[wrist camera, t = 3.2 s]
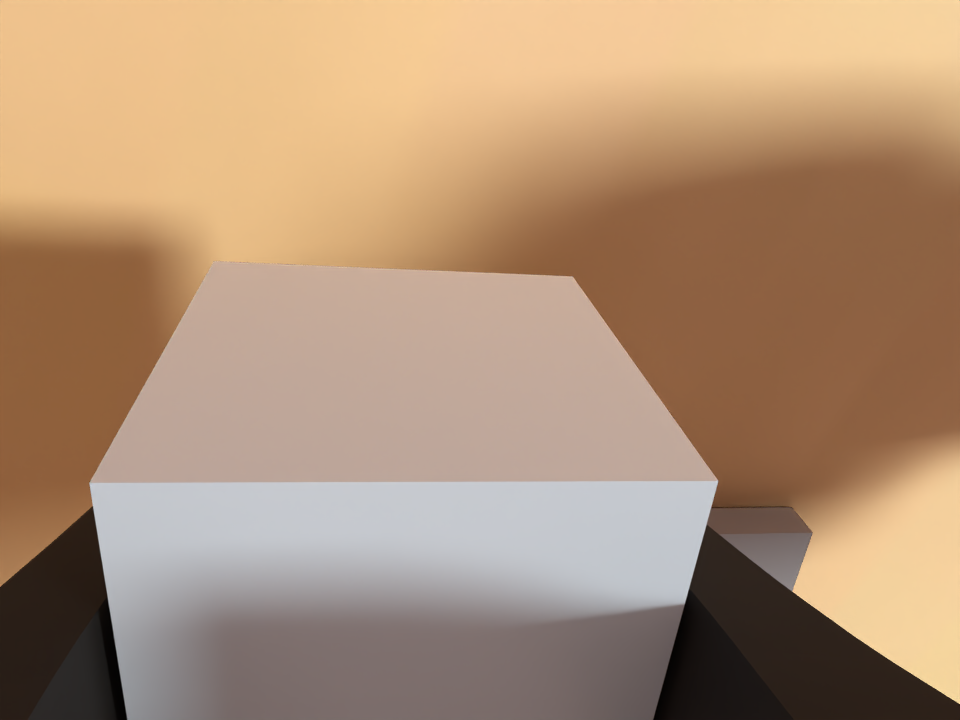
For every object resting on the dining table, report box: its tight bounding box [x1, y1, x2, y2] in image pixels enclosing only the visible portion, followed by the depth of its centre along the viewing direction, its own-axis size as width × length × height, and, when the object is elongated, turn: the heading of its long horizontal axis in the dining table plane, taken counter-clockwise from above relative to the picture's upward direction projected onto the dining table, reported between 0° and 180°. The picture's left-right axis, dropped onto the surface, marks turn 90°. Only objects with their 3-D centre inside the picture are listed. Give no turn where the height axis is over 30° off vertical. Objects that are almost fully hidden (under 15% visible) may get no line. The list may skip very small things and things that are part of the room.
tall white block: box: [89, 261, 718, 720], centre depth 8 cm, size 4×6×4 cm
